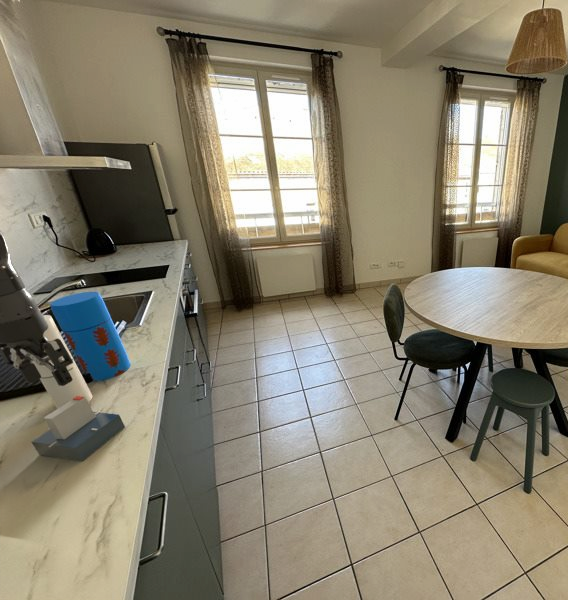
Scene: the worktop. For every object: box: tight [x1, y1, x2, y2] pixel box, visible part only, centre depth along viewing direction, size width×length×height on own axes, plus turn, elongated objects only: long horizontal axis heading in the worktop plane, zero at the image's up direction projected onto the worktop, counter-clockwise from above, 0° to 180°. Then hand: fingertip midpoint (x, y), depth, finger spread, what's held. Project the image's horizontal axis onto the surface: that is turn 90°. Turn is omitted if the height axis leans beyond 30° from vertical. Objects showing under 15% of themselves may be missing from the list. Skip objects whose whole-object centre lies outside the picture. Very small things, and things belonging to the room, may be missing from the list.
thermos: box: [49, 291, 131, 382], centre depth 98 cm, size 11×11×25 cm
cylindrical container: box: [32, 314, 94, 410], centre depth 85 cm, size 7×7×25 cm
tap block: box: [30, 409, 126, 462], centre depth 76 cm, size 12×11×4 cm
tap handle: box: [43, 396, 96, 440], centre depth 74 cm, size 7×2×6 cm, turn 170°
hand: (50, 381), depth 70 cm, fingers open, 8 cm apart
